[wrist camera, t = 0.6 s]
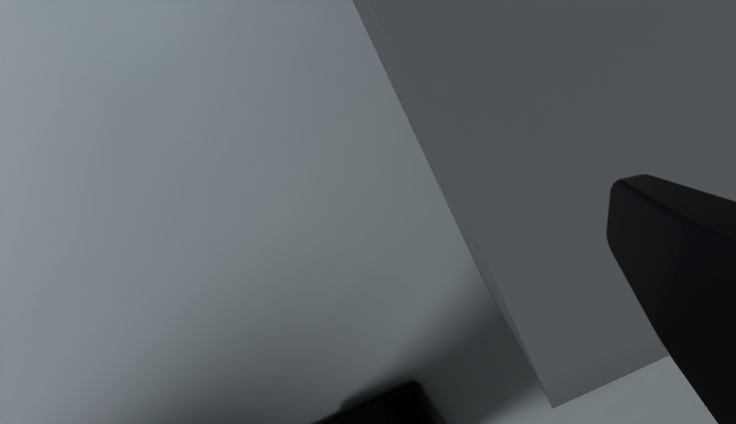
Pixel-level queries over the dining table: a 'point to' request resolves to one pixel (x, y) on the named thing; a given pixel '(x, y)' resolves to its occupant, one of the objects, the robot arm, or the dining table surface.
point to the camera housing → (562, 149)
